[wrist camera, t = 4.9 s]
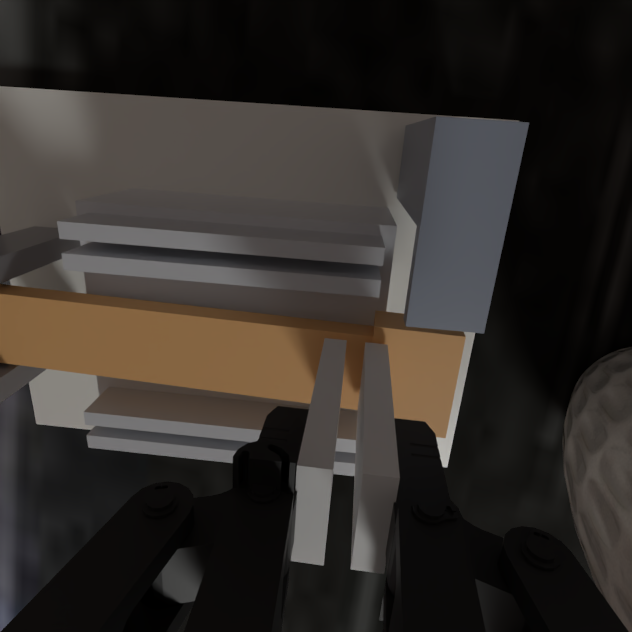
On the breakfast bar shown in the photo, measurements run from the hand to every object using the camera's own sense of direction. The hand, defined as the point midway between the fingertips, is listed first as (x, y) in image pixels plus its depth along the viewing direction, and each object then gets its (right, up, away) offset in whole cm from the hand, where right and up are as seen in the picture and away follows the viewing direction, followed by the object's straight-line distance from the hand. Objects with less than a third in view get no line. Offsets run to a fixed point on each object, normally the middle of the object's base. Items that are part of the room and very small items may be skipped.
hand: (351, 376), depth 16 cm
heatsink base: (-5, +3, +8) cm, 10 cm away
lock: (+4, +7, +5) cm, 9 cm away
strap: (-6, +1, +2) cm, 6 cm away
